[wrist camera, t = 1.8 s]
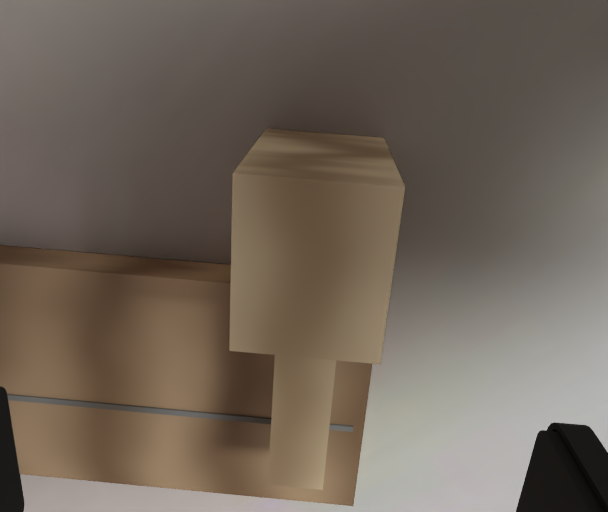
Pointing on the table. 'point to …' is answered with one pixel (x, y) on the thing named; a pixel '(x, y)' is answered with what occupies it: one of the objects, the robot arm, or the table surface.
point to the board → (149, 379)
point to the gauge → (311, 276)
